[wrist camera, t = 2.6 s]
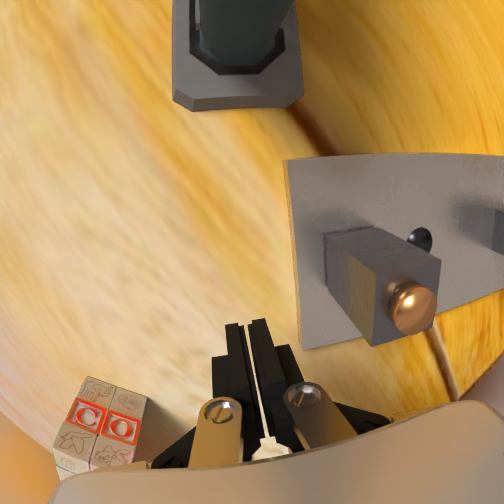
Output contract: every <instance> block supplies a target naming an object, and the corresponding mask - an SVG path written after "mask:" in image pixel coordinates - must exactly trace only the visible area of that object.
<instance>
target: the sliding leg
mask: <svg viewBox="0 0 504 504" xmlns="http://www.w3.org/2000/svg"><path fill="white" fill-rule="evenodd" d="M325 236H326V255H327V280H328V291H329V293H330V294H331V295H332V296H333V298H334V299H335V300H336V302H337V303H338V304H339V305H340V307H341V308H342V309H343V311H344V312H345V313H346V314H347V316H348V317H349V318H350V320H351V321H352V322H353V324H354V325H355V326H356V328H357V329H358V330H359V331H360V333H361V334H362V335H363V337H364V338H365V339H366V341H367V342H368V343H369V345H370V346H371V347H373V346H376V345H380V344H383V343H386V342H390V341H393V340H396V339H399V338H402V337H405V336H408V335H415V334H417V333H419V332H421V331H423V330H426V329H429V328H432V325H433V320H434V316H435V314H436V311H437V295H438V288H439V280H440V272H441V262H442V260H441V259H439V258H437V257H435V256H433V255H432V254H430V253H428V252H426V251H424V250H422V249H420V248H419V247H417V246H415V245H413V244H411V243H409V242H407V241H405V240H403V239H401V238H399V237H397V236H395V235H393V234H391V233H389V232H387V231H385V230H383V229H381V228H379V227H376V228H369V229H362V230H356V231H349V232H342V233H336V234H329V235H325Z"/></svg>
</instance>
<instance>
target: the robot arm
mask: <svg viewBox="0 0 504 504" xmlns="http://www.w3.org/2000/svg"><path fill="white" fill-rule="evenodd" d="M225 329H226V340H227V350H228V355H224V356H218V357H212V388H213V399H211V400H209V401H208V402H206V403H205V404H204V405H203V406H202V407H201V410H200V412H199V417H198V422H197V426H195V427H194V428H193V429H192V430H190V431H189V432H188V433H187V434H186V435H184V436H183V437H182V438H181V439H179V440H178V441H177V442H175V443H174V444H173V445H172V446H170V447H169V448H168V449H166V450H165V451H164V452H162V453H161V454H160V455H158V456H157V457H156V458H155V459H154V460H153V462H150V463H147V462H146V461H140V462H135V463H129V464H122V465H115V466H108V467H100V468H96V469H94V470H93V471H88V472H83V473H79V474H75V475H73V476H70V477H68V478H65V479H64V480H62V481H61V482H60V483H59V484H58V485H57V486H56V488H55V489H54V491H53V493H52V495H51V497H50V499H49V502H48V504H504V417H503V416H502V415H501V414H500V413H498V412H497V411H496V410H495V409H494V408H492V407H491V406H489V405H487V404H486V403H484V402H481V401H477V400H463V401H456V402H450V403H447V404H443V405H442V404H439V405H433V406H429V407H425V408H421V409H416V410H412V411H407V412H402V413H397V414H392V417H390V418H386V417H384V416H382V415H379V414H375V413H371V412H368V411H364V410H360V409H357V408H353V407H350V406H346V405H343V404H340V403H336V402H333V401H332V400H331V398H330V397H329V396H328V394H327V393H326V392H325V390H324V389H323V388H322V387H321V386H320V385H317V384H315V383H311V382H305V381H304V379H303V376H302V374H301V372H300V369H299V367H298V364H297V362H296V360H295V357H294V355H293V352H292V350H291V348H290V345H289V344H286V345H281V346H276V347H274V344H273V341H272V338H271V335H270V332H269V329H268V326H267V323H266V320H265V318H263V319H257V320H252V324H248V331H249V337H250V343H251V349H252V355H253V361H254V367H255V373H256V378H257V383H258V387H259V392H260V396H261V401H262V405H263V410H264V414H265V419H266V423H267V428H268V432H269V436H270V437H272V436H275V438H276V442H277V443H280V444H282V445H284V446H286V447H288V451H289V453H290V454H287V455H282V456H277V457H272V458H266V459H260V460H254V455H253V454H254V453H255V452H256V451H257V450H258V449H259V448H260V447H261V443H260V439H261V438H265V434H264V428H263V423H262V418H261V412H260V407H259V401H258V395H257V390H256V385H255V380H254V375H253V370H252V365H251V360H250V355H249V350H248V345H247V340H246V335H245V330H244V325H242V326H238V323H234V324H227V325H225Z"/></svg>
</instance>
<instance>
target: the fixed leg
mask: <svg viewBox="0 0 504 504" xmlns="http://www.w3.org/2000/svg"><path fill="white" fill-rule="evenodd" d="M491 250H492V251H495V252H497V253H499V254H501V255H503V256H504V208H500V209H495V216H494V230H493V240H492V249H491Z"/></svg>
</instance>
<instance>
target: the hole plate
mask: <svg viewBox="0 0 504 504" xmlns="http://www.w3.org/2000/svg"><path fill="white" fill-rule="evenodd" d="M283 168H284V176H285V185H286V194H287V204H288V213H289V223H290V233H291V244H292V255H293V267H294V279H295V291H296V305H297V319H298V335H299V343H300V346H301V348H302V350H308V349H312V348H317V347H321V346H326V345H330V344H334V343H339V342H343V341H347V340H351V339H355V338H359V337H362V336H363V335H362V334H361V333H360V331H359V330H358V329H357V328H356V326H355V325H354V324H353V322H352V321H351V320H350V318H349V317H348V316H347V314H346V313H345V312H344V311H343V309H342V308H341V307H340V305H339V304H338V303H337V302H336V300H335V299H334V298H333V296H332V295H331V294H330V293H329V291H328V280H327V255H326V236H325V235H329V234H336V233H342V232H349V231H356V230H362V229H369V228H376V227H379V228H381V229H383V230H385V231H387V232H389V233H391V234H393V235H395V236H397V237H399V238H401V239H403V240H405V241H407V242H409V243H411V244H413V245H415V246H417V247H419V248H420V249H422V250H424V251H426V252H428V253H430V254H432V255H433V256H435V257H437V258H439V259H441V260H442V262H441V272H440V280H439V288H438V295H437V311H436V314H438V313H441V312H444V311H447V310H449V309H452V308H455V307H458V306H460V305H463V304H466V303H468V302H471V301H473V300H476V299H478V298H481V297H483V296H486V295H488V294H491V293H493V292H495V291H498V290H500V289H502V288H504V256H503V255H501V254H499V253H497V252H495V251H492V250H491V249H492V240H493V230H494V216H495V209H500V208H504V156H498V155H484V154H464V153H375V154H353V155H337V156H323V157H311V158H300V159H289V160H283Z"/></svg>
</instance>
